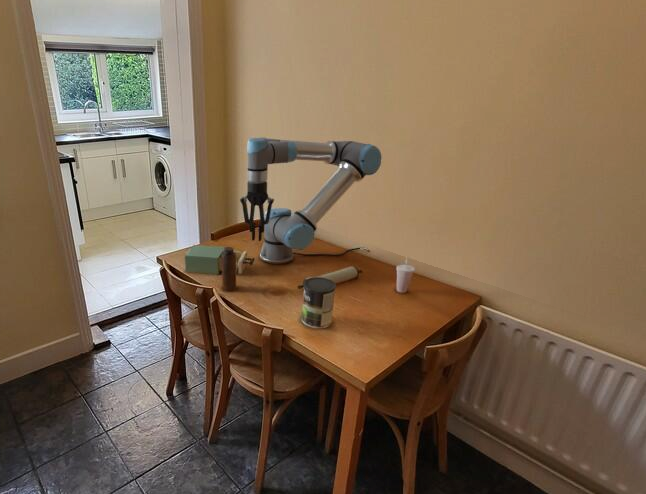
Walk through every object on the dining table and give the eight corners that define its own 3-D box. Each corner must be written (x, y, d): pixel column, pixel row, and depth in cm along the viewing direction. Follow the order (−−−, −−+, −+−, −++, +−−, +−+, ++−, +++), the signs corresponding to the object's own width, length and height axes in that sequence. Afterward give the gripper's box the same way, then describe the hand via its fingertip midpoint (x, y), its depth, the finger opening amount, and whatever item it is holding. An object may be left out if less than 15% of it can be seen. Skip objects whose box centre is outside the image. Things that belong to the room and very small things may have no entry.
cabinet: (225, 262, 185) (225, 247, 182) (218, 274, 174) (217, 257, 170) (194, 260, 188) (194, 244, 184) (185, 271, 177) (184, 255, 173)
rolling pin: (301, 296, 156) (302, 284, 153) (293, 290, 160) (293, 278, 158) (366, 278, 169) (367, 267, 167) (356, 273, 173) (358, 262, 171)
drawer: (255, 263, 181) (256, 251, 179) (250, 274, 171) (251, 262, 169) (217, 260, 185) (217, 248, 182) (210, 271, 175) (209, 258, 172)
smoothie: (410, 288, 161) (416, 255, 155) (410, 295, 155) (417, 261, 149) (392, 285, 163) (398, 253, 157) (392, 292, 157) (398, 259, 151)
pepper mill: (237, 286, 164) (237, 246, 157) (234, 292, 159) (233, 251, 152) (224, 284, 165) (223, 245, 158) (221, 290, 160) (219, 250, 153)
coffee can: (305, 329, 135) (307, 291, 129) (298, 313, 144) (300, 277, 138) (335, 328, 135) (339, 290, 129) (327, 312, 145) (330, 276, 139)
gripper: (278, 179, 156) (276, 237, 166) (240, 178, 159) (240, 235, 169) (275, 184, 150) (274, 244, 160) (235, 182, 153) (236, 241, 163)
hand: (256, 239), depth 165 cm, fingers open, 2 cm apart
